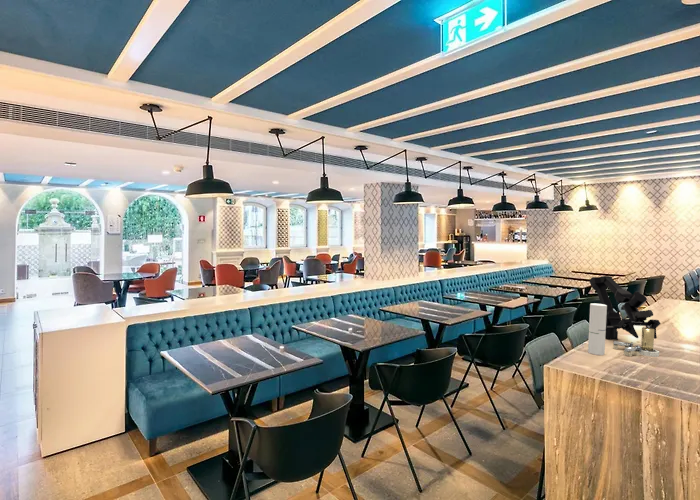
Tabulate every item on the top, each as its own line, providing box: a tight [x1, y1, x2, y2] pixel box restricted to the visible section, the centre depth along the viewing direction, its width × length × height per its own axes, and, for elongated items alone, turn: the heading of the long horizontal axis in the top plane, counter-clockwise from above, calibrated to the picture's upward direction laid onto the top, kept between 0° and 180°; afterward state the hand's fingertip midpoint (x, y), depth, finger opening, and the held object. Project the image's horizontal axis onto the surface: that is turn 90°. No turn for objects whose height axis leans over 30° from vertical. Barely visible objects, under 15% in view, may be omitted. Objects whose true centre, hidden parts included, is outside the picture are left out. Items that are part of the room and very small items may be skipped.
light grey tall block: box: [587, 302, 607, 356], centre depth 196 cm, size 7×7×25 cm
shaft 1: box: [612, 340, 634, 350], centre depth 204 cm, size 8×3×5 cm, turn 52°
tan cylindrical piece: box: [640, 326, 655, 352], centre depth 197 cm, size 6×6×13 cm
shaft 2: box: [623, 345, 642, 357], centre depth 194 cm, size 8×3×5 cm, turn 107°
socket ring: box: [639, 348, 660, 358], centre depth 197 cm, size 10×10×2 cm
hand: (646, 338), depth 198 cm, fingers open, 9 cm apart
